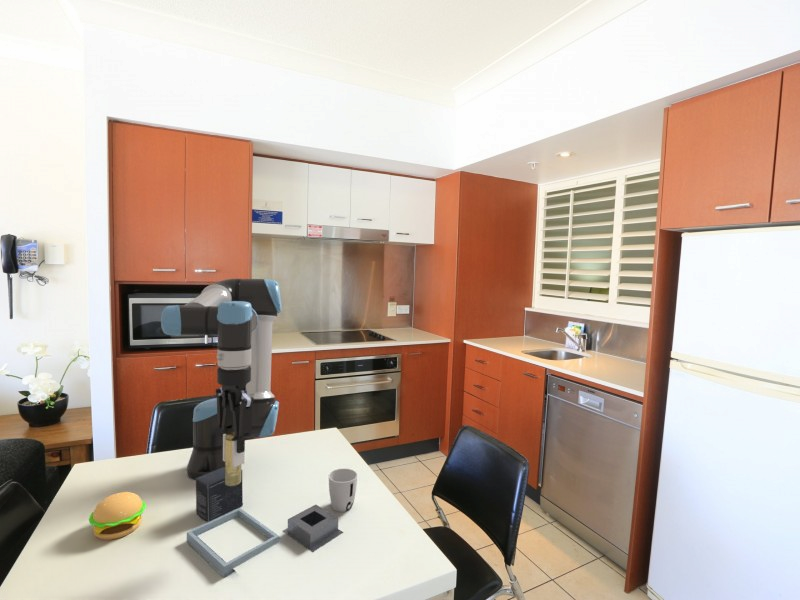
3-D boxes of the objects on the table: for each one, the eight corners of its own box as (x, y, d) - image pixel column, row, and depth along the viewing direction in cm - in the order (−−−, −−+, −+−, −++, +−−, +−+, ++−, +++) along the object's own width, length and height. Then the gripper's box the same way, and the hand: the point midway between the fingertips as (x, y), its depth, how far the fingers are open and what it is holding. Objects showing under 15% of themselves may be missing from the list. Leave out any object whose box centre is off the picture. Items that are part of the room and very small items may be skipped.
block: (282, 534, 104) (282, 517, 104) (313, 517, 112) (313, 501, 112) (312, 556, 97) (313, 537, 96) (343, 536, 104) (344, 519, 104)
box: (230, 498, 120) (230, 463, 120) (243, 505, 116) (244, 470, 116) (194, 514, 112) (194, 477, 111) (207, 523, 108) (208, 485, 107)
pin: (222, 482, 99) (222, 433, 98) (236, 477, 102) (236, 429, 101) (230, 487, 96) (230, 438, 96) (244, 481, 99) (244, 433, 99)
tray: (186, 541, 100) (186, 532, 100) (239, 516, 111) (239, 507, 111) (224, 577, 89) (224, 566, 89) (279, 545, 100) (279, 536, 100)
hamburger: (86, 550, 96) (85, 514, 96) (91, 523, 106) (91, 491, 106) (146, 534, 103) (146, 501, 102) (145, 510, 113) (145, 480, 112)
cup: (351, 519, 112) (352, 484, 111) (323, 515, 113) (324, 480, 113) (360, 503, 120) (361, 470, 119) (333, 499, 121) (334, 466, 120)
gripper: (201, 362, 100) (201, 456, 101) (238, 375, 89) (237, 479, 91) (231, 358, 105) (230, 447, 107) (268, 369, 95) (267, 467, 96)
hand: (233, 461), depth 99 cm, fingers closed on pin, 4 cm apart
